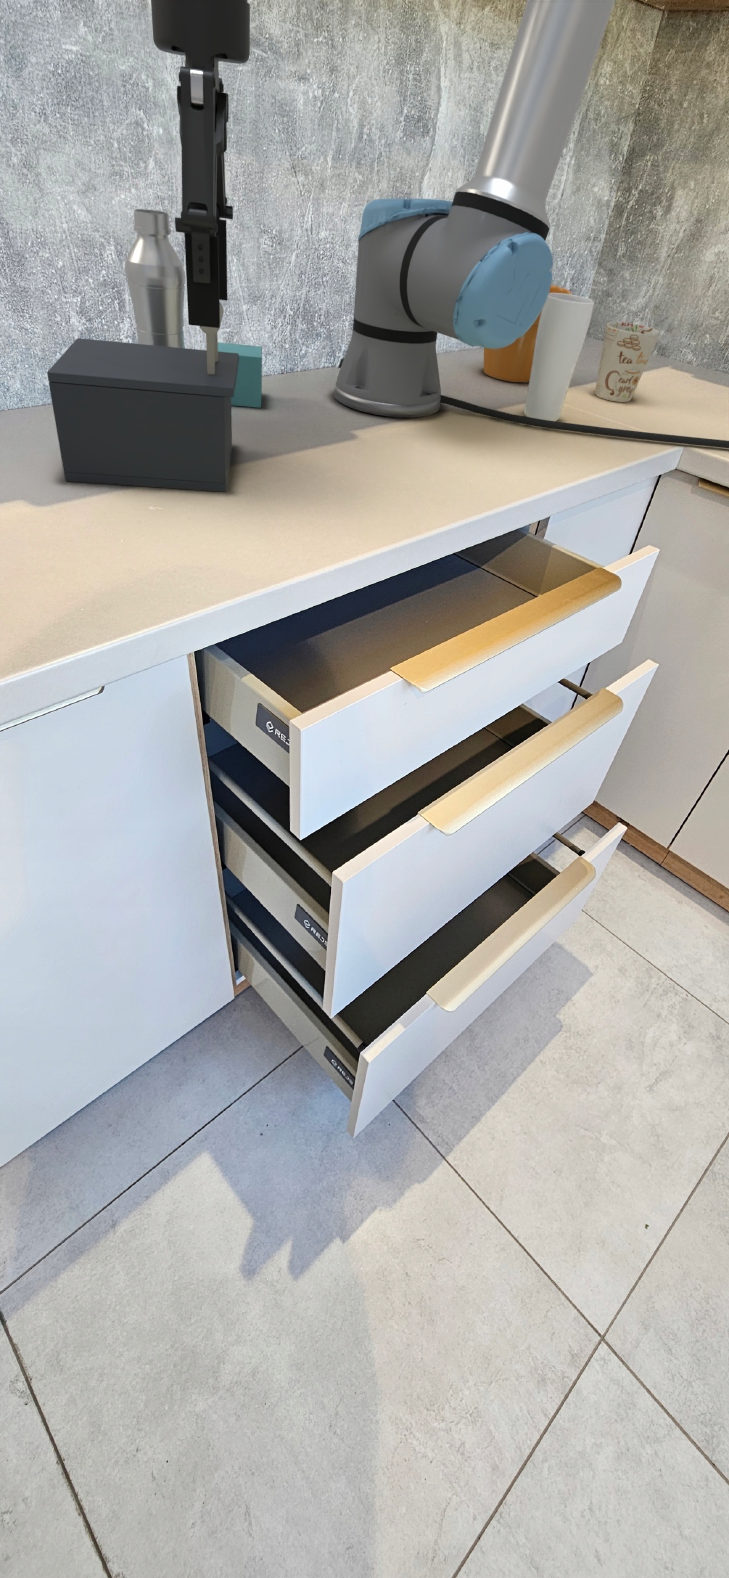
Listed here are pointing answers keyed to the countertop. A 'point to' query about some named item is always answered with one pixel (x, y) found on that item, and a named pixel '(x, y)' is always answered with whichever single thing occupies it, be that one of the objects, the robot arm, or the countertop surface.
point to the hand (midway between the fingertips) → (209, 311)
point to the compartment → (143, 436)
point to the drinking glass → (556, 353)
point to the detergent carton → (246, 374)
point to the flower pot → (515, 354)
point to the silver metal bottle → (156, 281)
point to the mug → (623, 359)
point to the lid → (149, 366)
